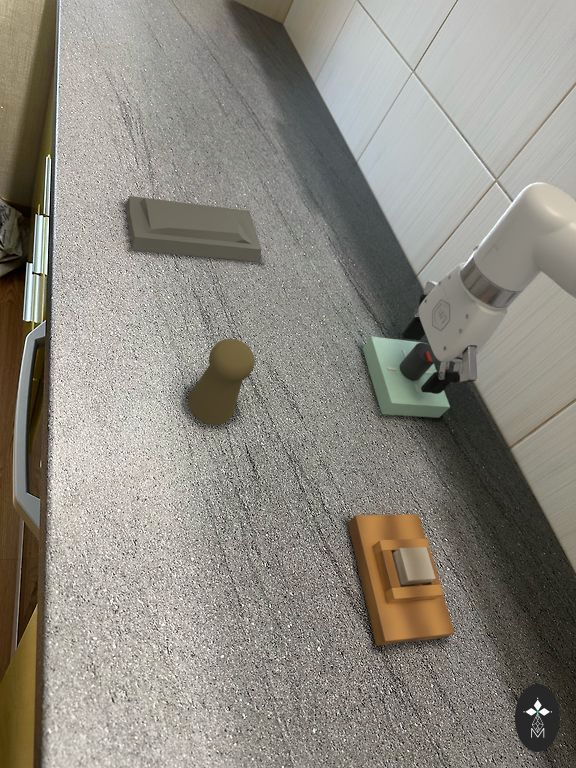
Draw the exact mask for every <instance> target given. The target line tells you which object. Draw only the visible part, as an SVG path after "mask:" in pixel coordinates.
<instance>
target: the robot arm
mask: <svg viewBox="0 0 576 768" xmlns="http://www.w3.org/2000/svg"><path fill="white" fill-rule="evenodd" d="M540 273H543V274H544V275H546V276H547V277H548V278H549V279H550V280H552V281H553V282H554V283H555V284H556V285H557V286H558V287H560V288H561V289H562V290H563V291H564V292H566V293H567V294H568V295H569V296H571V297H573V298H574V299H576V200H575V198H573V197H572V196H571V195H569V193H568V192H566V191H564V190H563V189H561V188H559V187H557V186H555V185H553V184H551V183H547V182H542V181H541V182H540V181H539V182H533V183H530V184H528V185H526V186H525V187H524V188H523V189H522V190H521V191H520V192H519V193H518V194H517V195H516V197H515V198H514V200H513V201H512V202H511V204H510V205H509V206H508V208H507V209H506V210H505V211H504V213H502V215H501V216H500V218H499V219H498V221H496V223H495V224H494V226H493V227H492V228H491V229H490V231H489V232H488V234H487V235H485V237H484V238H483V240H482V241H481V242H480V243H479V244H476V245H475V246H474V247H473V252H472V254H470V256H469V257H468V259H467V260H466V261H463V262H460V263H458V264H457V265H456V266H455V267H453V268H452V269H451V270H450V271H449V272H447V273H446V275H444V276H443V277H442V278H441V279H440V280H439V281H438V282H437V281H434V280H427V281H426V283H425V286H424V289H423V292H422V294H421V295H420V297H419V303H418V308H416V309H415V310H414V317H413V318H412V320H411V321H410V322H409V324H408V325H407V327H405V329H404V330H403V332H402V333H401V337H402V338H403V340H411V341H414V340H415V341H421V340H422V339H423V337H425V336H426V339H427V341H428V345H430V346H431V349H432V351H433V353H434V355H435V357H436V358H437V361H439V362H440V365H439V369H438V371H437V372H434V373H433V374H432V375H431V377H430V378H429V379H428V380H427V381H426V382H425V383H424V384H423V386H422V387H421V390H422V392H426V393H433V394H439V393H441V392H442V391H443V390H444V391H445V389H447V387H448V386H449V385H450V384H451V383H454V384H467V383H472V382H475V381H477V379H478V368H477V367H478V366H477V354H479V352H480V351H481V350H482V349H483V348H484V347H485V346H486V344H487V343H488V342H489V340H490V339H491V338H492V336H493V335H494V334H495V332H496V331H497V329H498V328H499V326H500V325H501V323H503V320H504V319H505V317H506V315H507V313H508V309H509V307H510V306H511V305H512V303H514V302H515V300H516V299H517V298H518V297H519V296H520V295H521V294H522V293H523V291H524V290H525V289H527V287H528V286H529V285H530V284H531V283H532V282H534V280H535V279H536V277H537V276H538V275H539V274H540ZM451 363H454V364H453V368H452V370H449V368H450V364H451Z"/></svg>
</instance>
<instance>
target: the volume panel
mask: <svg viewBox="0 0 576 768" xmlns="http://www.w3.org/2000/svg"><path fill="white" fill-rule="evenodd" d="M418 343H423V342H421V341H414V340H406V339H397V338H396V339H395V338H387V337H379V336H369V338H368V340H367V341H366V343H365V344H364V346H363V347H362V352H363V355H364V359H365V362H366V366H367V370H368V372H369V375H370V379H371V383H372V385H373V389H374V392H375V396H376V399H377V403H378V405H379V406H378V407H379V409H380V413H381V415H388V416H403V417H404V416H405V417H420V418H421V417H423V418H438V419H439V418H440V417H441V416H442V415H444V414H445V413H446V412H447V411H448V410H449V409H450V408H451V405H450V403H449V400H448V398H447V394H446V392H445V389H444V390H443V391H442V392H441V393H439V394H433V393H426V392H422V390H421V387H422V386H423V384H424V383H425V382H426V381H427V380H428V379H429V378H430V377H431V375H432V374H433V373H434V372H438V370H437V369H436V365H435V363H434V364H433V365H432V366H431V367H430V368H429V369H428V370H427V371H426V372H425V374H424V375H423V376H422V377H421V378H420V379H419V380H416V381H413V380H410V379H408V378H406V377H405V376H404V375H403V374H402V373H401V371H400V364H401V362H402V361H403V360H404V359H405V357H406V356H407V355H408V354H409V353H410V352H411V350H412V349H413V348H414V347H415V346H416V344H418Z"/></svg>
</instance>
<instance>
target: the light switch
mask: <svg viewBox="0 0 576 768" xmlns="http://www.w3.org/2000/svg"><path fill="white" fill-rule="evenodd" d="M347 526H348V530H349V534H350V539H351V543H352V547H353V552H354V556H355V560H356V564H357V569H358V573H359V578H360V583H361V587H362V591H363V596H364V600H365V605H366V608H367V613H368V617H369V621H370V625H371V626H370V627H371V631H372V634H373V635H372V636H373V639H374V644H375V646H376V647H379V646H386V645H387V646H389V645H395V644H405V643H412V642H413V643H414V642H421V641H430V640H438V639H439V640H440V639H446V638H447V637H450V636H452V635H454V634H455V633H456V632H455V630H454V626H453V623H452V619H451V617H450V614H449V610H448V607H447V603H446V599H445V597H444V595H445V593H444V590H443V587H442V584H441V581H440V577H439V573H438V571H437V568H436V564H435V561H434V558H433V554H432V550H431V547H430V544H429V541H428V539H427V537H426V533H425V530H424V527H423V524H422V520H421V517H420V514H417V513H416V514H412V513H411V514H364V515H363V514H362V515H354V516H353V517H352V518H351V519H350V520H349V521H347ZM415 547H426V548H427V551H428V554H429V558H430V561H431V564H432V568H433V571H434V574H435V578H436V579H434V580H433V581H431V582H429V583H426V584H413V585H400V581H399V577H398V573H397V569H396V566H395V562H394V558H393V554H392V553H394V552H395V551H396V550H398V549H399V548H415Z"/></svg>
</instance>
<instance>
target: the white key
mask: <svg viewBox="0 0 576 768" xmlns="http://www.w3.org/2000/svg"><path fill="white" fill-rule="evenodd" d="M392 554H393V558H394V562H395V566H396V569H397V573H398V577H399V581H400V585H413V584H426V583H429V582H431V581H433V580H434V579H436V578H435V574H434V571H433V568H432V564H431V561H430V558H429V554H428V551H427V548H426V547H415V548H399V549H398V550H396V551H395V552H394V553H392Z"/></svg>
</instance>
